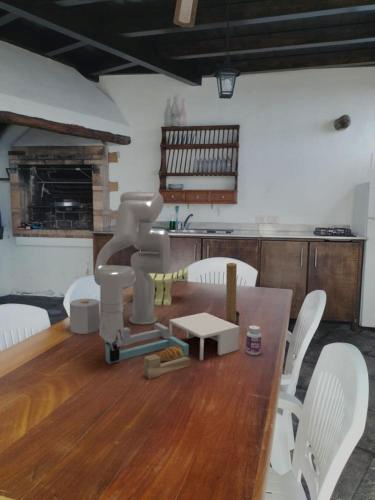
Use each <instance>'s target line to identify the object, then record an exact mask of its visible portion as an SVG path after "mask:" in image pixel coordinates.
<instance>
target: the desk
mask: <svg viewBox="0 0 375 500" xmlns="http://www.w3.org/2000/svg"><path fill="white" fill-rule="evenodd" d="M225 320H226V319H225ZM225 320H224V319H221V318H219V317H217V316H214V315H213V314H210V313H208V312H200V313H196V314H191V315H185V316H182V317H176V318H170V319H168V323H169V337H172V336H174V334H173V333H174V332H173V331H174V329H173V328H174V326H175V327H178V328H180V329H182V330H184V331H185V332H186V339H188V340H189V339H192V338H200V340H199V361H204V348H205V347H204V343H205V339H206V338H210V339H211V340H214V341H216V342H217V355H219V356H222V355H226V354H229V353H232V352H235V351H239V349H240V343H239V342H240V325H238V326H237V325H235V324H232V323H230V322H227V321H225Z"/></svg>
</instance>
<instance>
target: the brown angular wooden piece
mask: <svg viewBox="0 0 375 500" xmlns="http://www.w3.org/2000/svg"><path fill="white" fill-rule="evenodd" d="M157 355H158V354H156V353H155V354H152V355H148V356H144V363H143V364H144V366H143V367H144V370H143V371H144V376H145V377H146V378H148V379H149V380H150V379H153V378H156V377H159V376H161V375H164V374H167V373H170V372H175V371H177V370H181V369H183V368H186V367H190V365H191V358H189V356H185V357H183V358H180V359H176V360H173V361H165V362H162V363H161V361H160V357H159V356H157Z"/></svg>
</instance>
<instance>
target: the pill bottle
mask: <svg viewBox="0 0 375 500" xmlns="http://www.w3.org/2000/svg"><path fill="white" fill-rule="evenodd" d="M260 331H261V327H260V326H258V325H249V326H248V331H247V333H246V339H245V353H247V354H248V355H251V356H258V355H260V354H261V350H262V349H261V348H262V333H261V332H260Z"/></svg>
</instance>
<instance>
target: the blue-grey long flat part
mask: <svg viewBox="0 0 375 500" xmlns="http://www.w3.org/2000/svg"><path fill="white" fill-rule="evenodd" d="M115 344H117V343H114V345H115ZM175 345H176V346H180V347H181V348H182V351H183V353H184V357H189V355H190V353H189V351H190V350H189V348H190V345H189V344H188V343H186V342H185V341H183V340H181V339H179V338H177V337H175V336H174V335H173V336H172V337H170V336H169V338H168V340H167V339H162V340H157V341H154V342H150V343H146V344H143V345H137V346H134V347H130V348H129V347H128V348H125V349H122V350H121V348H120V349H119V360H118V361H114V362H111V361H110V350H111V344H110V343H107V344H105V343H104V347H106V357H105V362H107V363H108V364H109V365H110V364H114V363H119V362H121V361H123V360H126V359H130V358H133V357H138V356H141V355H146V354H149V353H153V352H157V351H160V350H161V351H162V350H165V349H166V348H167V347H174V346H175Z"/></svg>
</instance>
